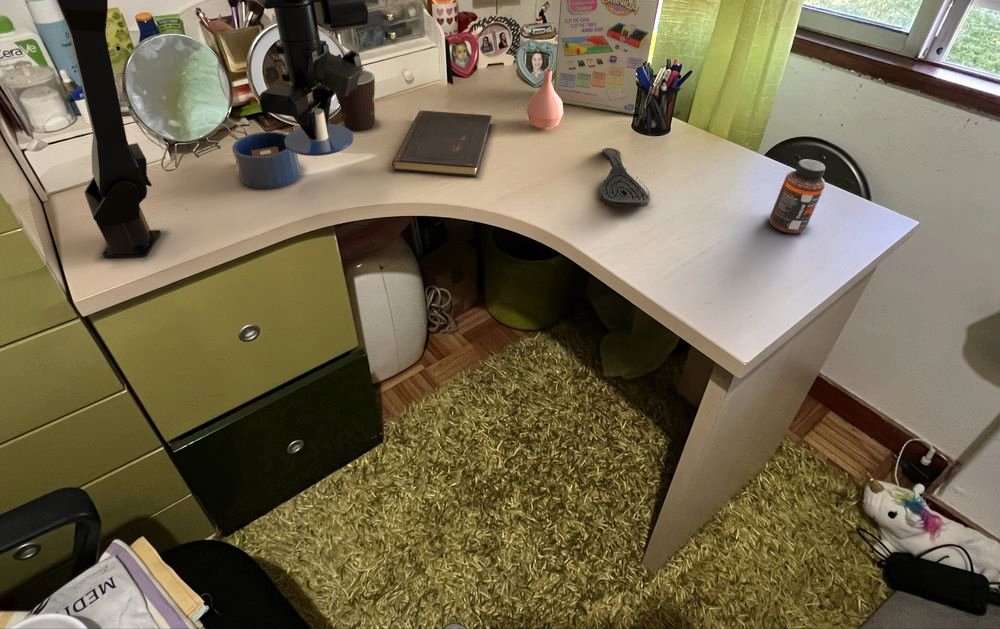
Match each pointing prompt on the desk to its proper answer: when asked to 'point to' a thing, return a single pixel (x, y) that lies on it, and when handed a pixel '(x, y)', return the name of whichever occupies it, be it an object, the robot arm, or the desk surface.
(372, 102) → the coffee mug
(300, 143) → the blue pot lid
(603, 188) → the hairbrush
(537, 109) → the pink vase
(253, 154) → the small brown cardboard box
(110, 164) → the robot arm
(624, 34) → the game box
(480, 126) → the hardcover book
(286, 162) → the blue round container
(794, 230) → the supplement bottle
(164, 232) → the desk surface
